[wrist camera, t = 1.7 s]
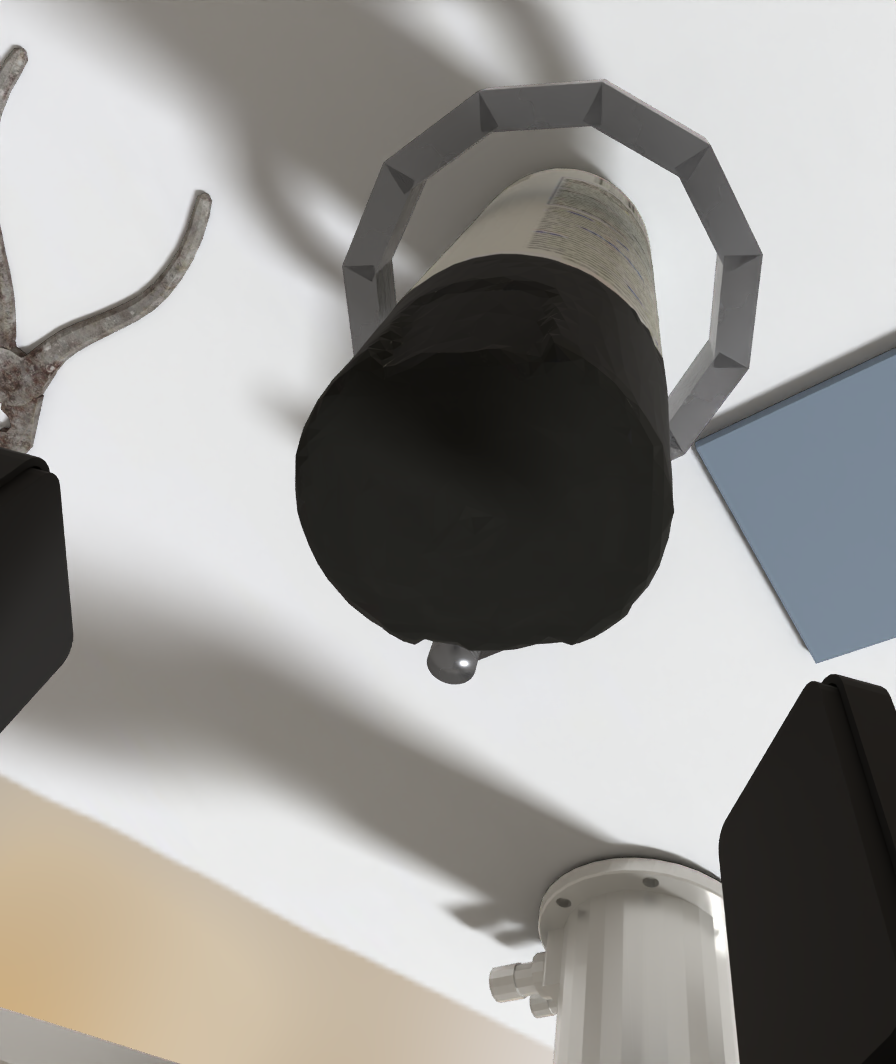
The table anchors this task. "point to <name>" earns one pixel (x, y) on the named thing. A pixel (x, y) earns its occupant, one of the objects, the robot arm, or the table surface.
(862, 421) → the mat
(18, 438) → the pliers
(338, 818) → the table surface
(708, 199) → the ring stand
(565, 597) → the spray can
